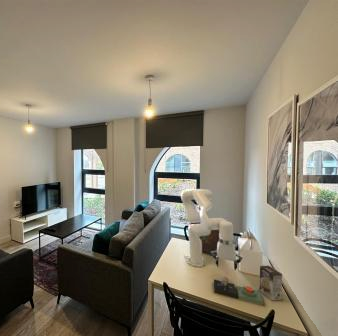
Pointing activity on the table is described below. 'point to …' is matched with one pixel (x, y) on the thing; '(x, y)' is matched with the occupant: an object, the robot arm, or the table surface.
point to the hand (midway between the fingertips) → (226, 267)
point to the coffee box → (270, 282)
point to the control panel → (225, 289)
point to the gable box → (249, 254)
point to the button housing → (249, 295)
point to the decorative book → (209, 241)
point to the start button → (249, 289)
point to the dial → (224, 282)
